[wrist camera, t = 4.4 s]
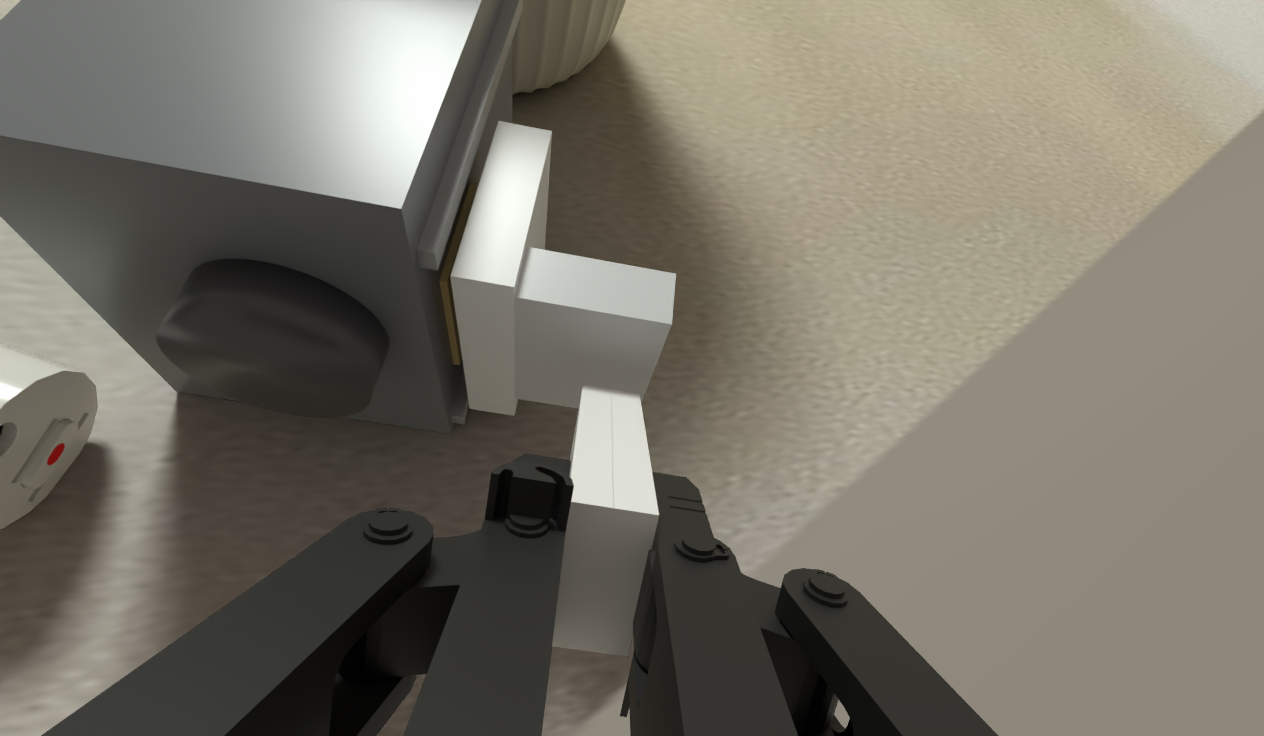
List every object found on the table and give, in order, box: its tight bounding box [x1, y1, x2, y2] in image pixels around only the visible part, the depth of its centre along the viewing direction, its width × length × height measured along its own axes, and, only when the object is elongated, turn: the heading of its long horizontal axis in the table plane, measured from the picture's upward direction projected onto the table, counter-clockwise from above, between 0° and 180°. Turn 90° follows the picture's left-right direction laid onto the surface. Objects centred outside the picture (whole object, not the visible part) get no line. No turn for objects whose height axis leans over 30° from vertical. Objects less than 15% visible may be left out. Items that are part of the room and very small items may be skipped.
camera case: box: [0, 0, 523, 434], centre depth 19 cm, size 9×13×12 cm
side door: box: [450, 121, 676, 416], centre depth 20 cm, size 5×6×7 cm
